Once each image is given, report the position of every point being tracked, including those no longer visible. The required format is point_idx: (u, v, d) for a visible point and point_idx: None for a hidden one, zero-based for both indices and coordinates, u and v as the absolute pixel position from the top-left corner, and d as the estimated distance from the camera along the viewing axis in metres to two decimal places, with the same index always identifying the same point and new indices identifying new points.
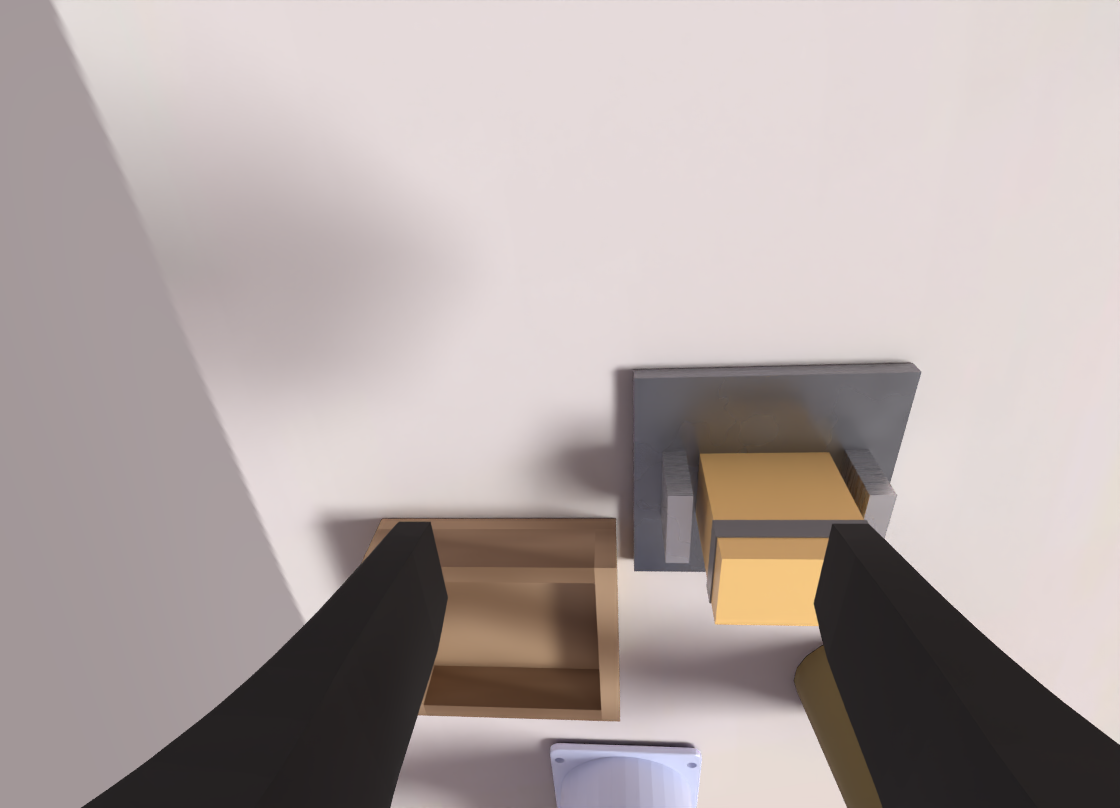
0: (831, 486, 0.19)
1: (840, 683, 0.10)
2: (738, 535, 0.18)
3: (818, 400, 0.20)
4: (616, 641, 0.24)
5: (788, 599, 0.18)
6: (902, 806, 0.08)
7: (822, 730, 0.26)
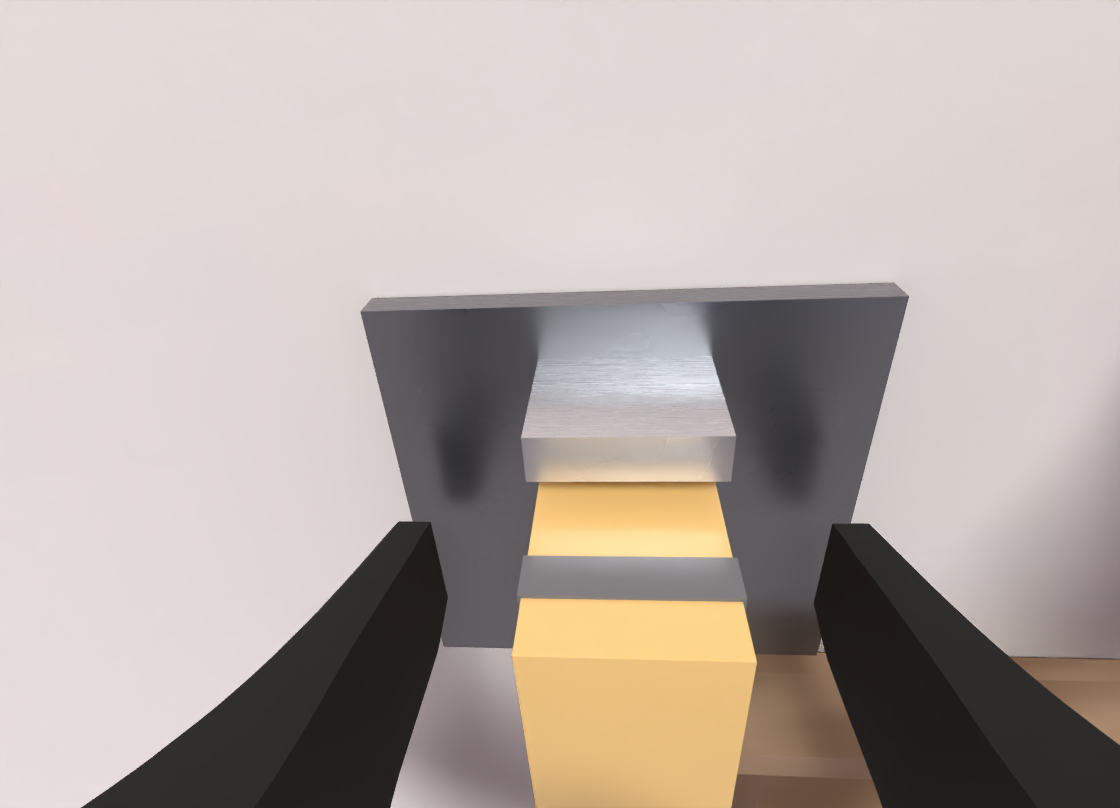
0: None
1: (840, 682, 0.10)
2: None
3: (444, 451, 0.12)
4: None
5: (649, 770, 0.08)
6: (902, 806, 0.08)
7: None
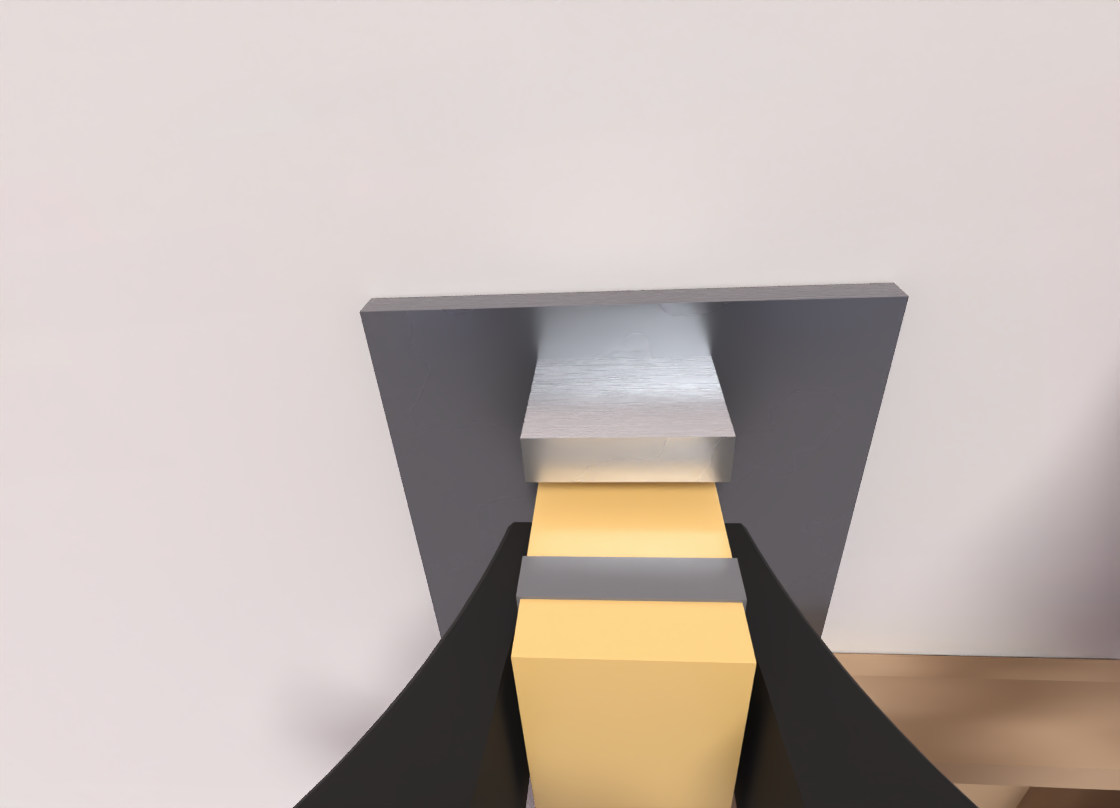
0: None
1: None
2: None
3: (443, 451, 0.12)
4: None
5: (648, 770, 0.08)
6: (744, 799, 0.08)
7: None
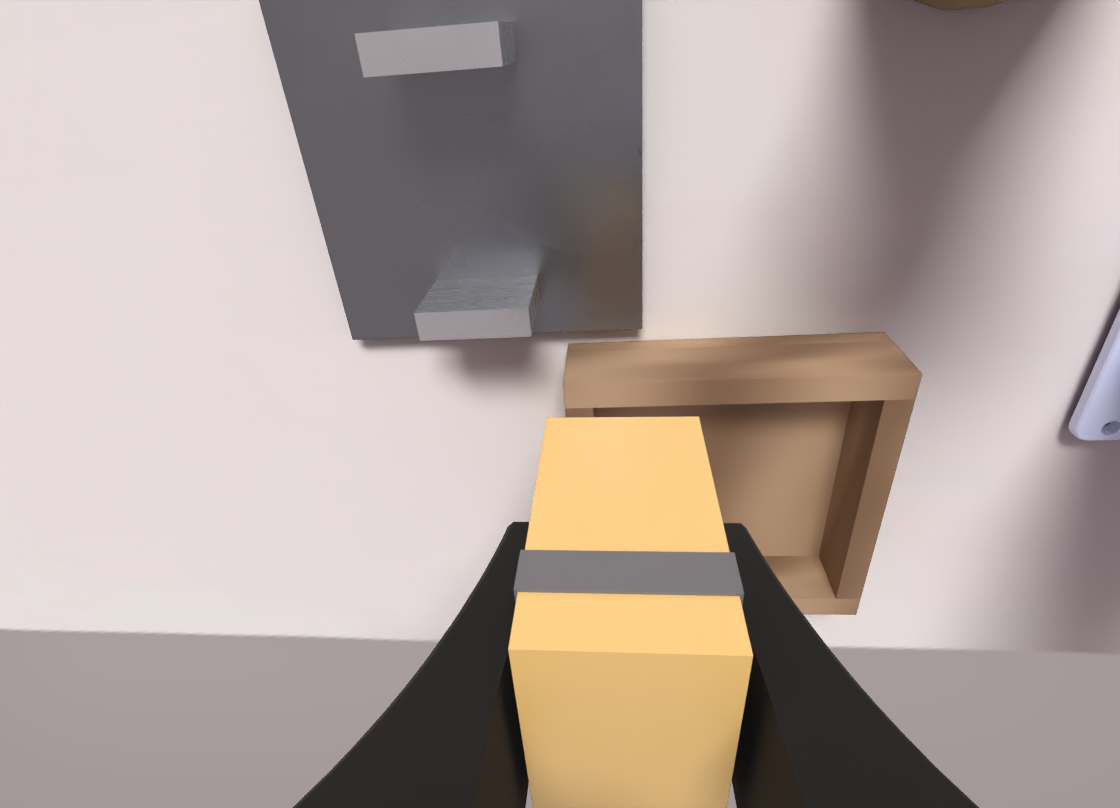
0: None
1: None
2: None
3: (331, 128, 0.16)
4: (711, 382, 0.17)
5: (645, 765, 0.08)
6: (744, 799, 0.08)
7: None
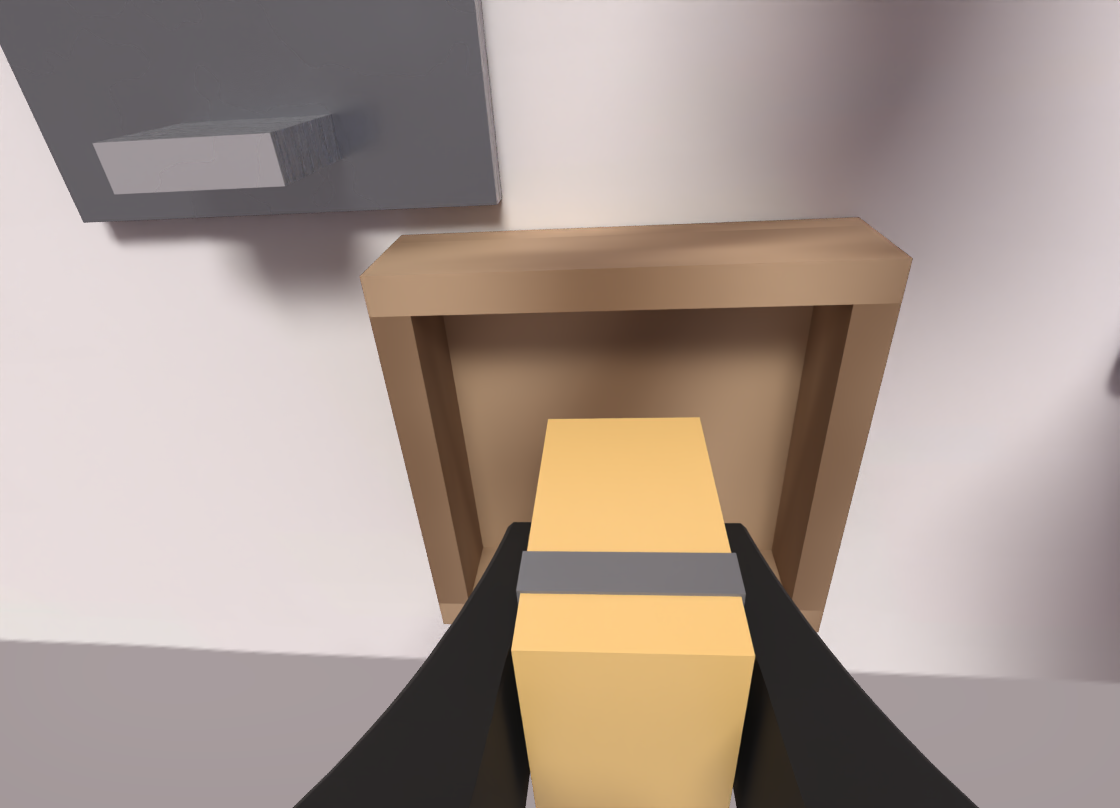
0: None
1: None
2: None
3: None
4: (584, 272, 0.11)
5: (648, 765, 0.08)
6: (744, 799, 0.08)
7: None
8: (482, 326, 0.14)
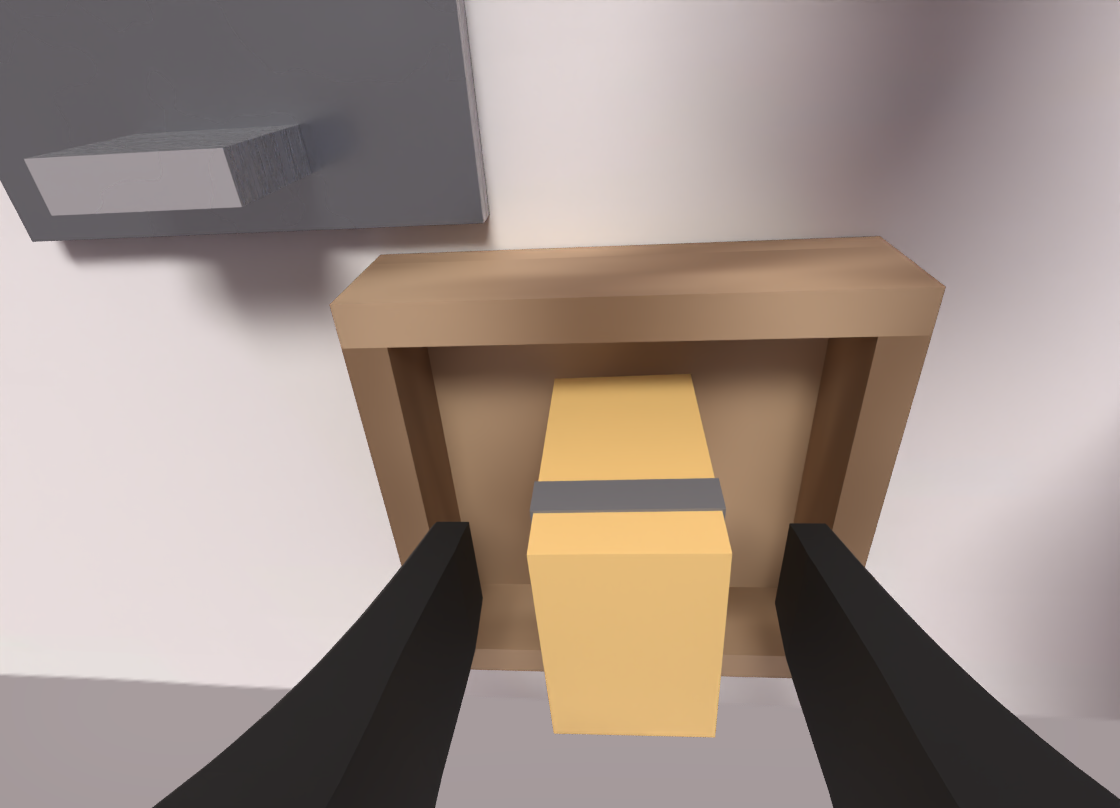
0: None
1: (797, 682, 0.10)
2: None
3: None
4: (579, 301, 0.10)
5: (646, 662, 0.09)
6: (849, 803, 0.08)
7: None
8: (469, 353, 0.12)
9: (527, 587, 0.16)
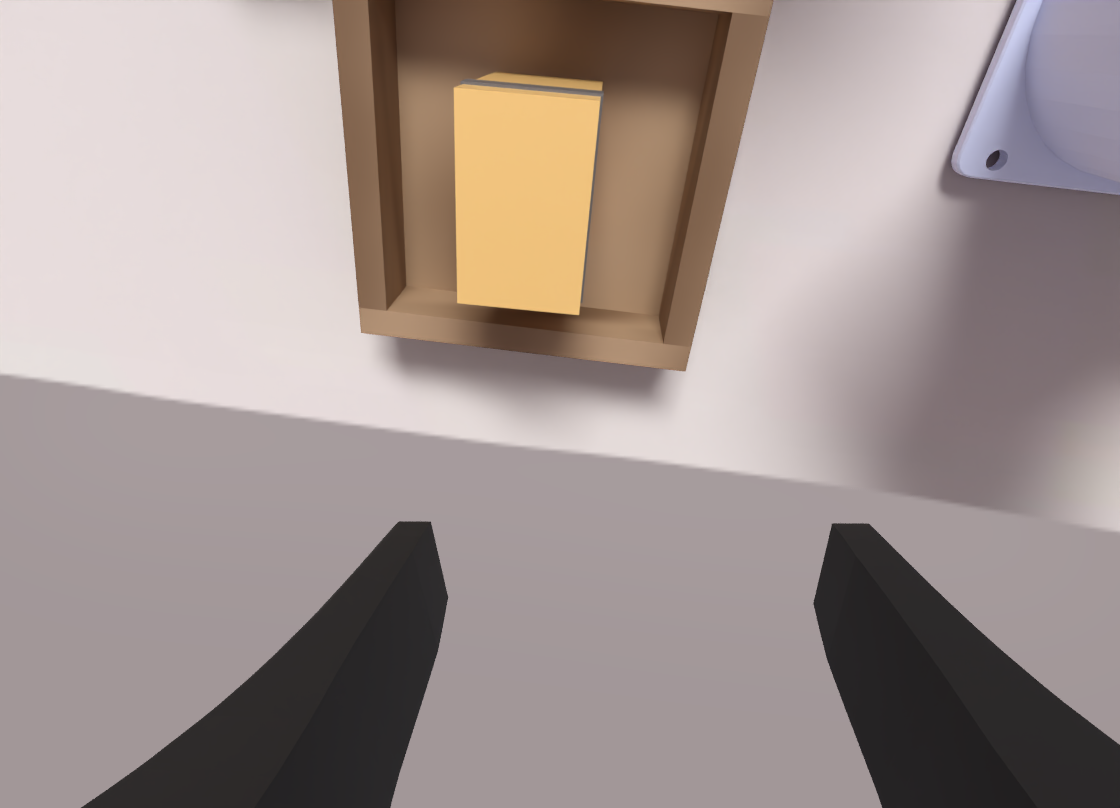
0: None
1: (840, 683, 0.10)
2: None
3: None
4: None
5: (532, 220, 0.13)
6: (902, 806, 0.08)
7: None
8: (429, 36, 0.15)
9: (452, 292, 0.19)
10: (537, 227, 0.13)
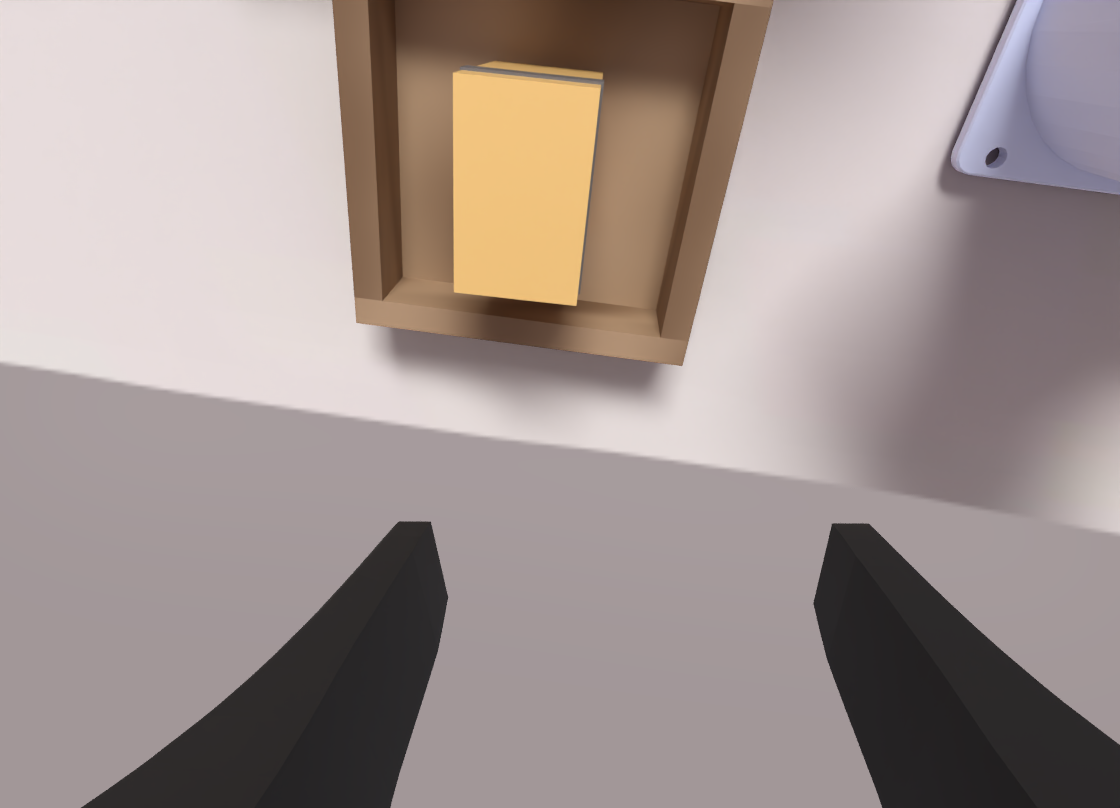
0: None
1: (840, 683, 0.10)
2: None
3: None
4: None
5: (531, 209, 0.13)
6: (902, 806, 0.08)
7: None
8: (429, 23, 0.15)
9: (448, 283, 0.19)
10: (535, 216, 0.13)
